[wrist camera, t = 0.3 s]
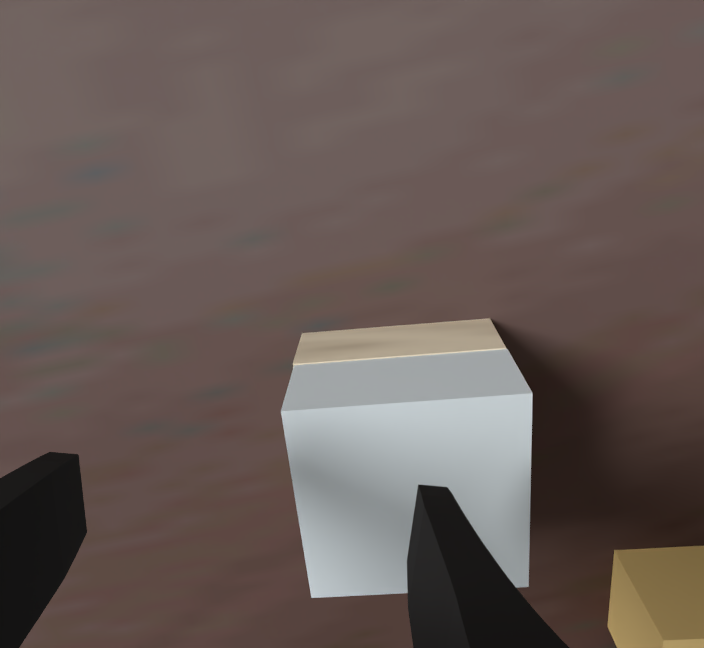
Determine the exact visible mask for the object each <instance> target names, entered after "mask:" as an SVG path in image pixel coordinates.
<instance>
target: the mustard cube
mask: <svg viewBox="0 0 704 648" xmlns="http://www.w3.org/2000/svg"><path fill="white" fill-rule="evenodd" d="M608 629H609V631H610V633H611V635H612V637H613V640H614V642H615V644H616V646H617V648H704V546H687V547H667V548H648V549H628V550H614V559H613V571H612V582H611V593H610V605H609V616H608Z"/></svg>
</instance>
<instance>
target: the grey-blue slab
mask: <svg viewBox="0 0 704 648" xmlns="http://www.w3.org/2000/svg"><path fill="white" fill-rule="evenodd" d="M532 399H533V393H532V391H531V389H530V388H529V386H528V384H527V382H526V381H525V379H524V377H523V375H522V374H521V372H520V370H519V368H518V367H517V365H516V363H515V361H514V359H513V358H512V356H511V354H510V352H509V351H508V349H500V350H487V351H474V352H461V353H448V354H435V355H422V356H409V357H396V358H383V359H370V360H357V361H344V362H330V363H317V364H304V365H294V368H293V371H292V374H291V378H290V381H289V385H288V388H287V392H286V395H285V399H284V402H283V406H282V409H281V415H282V421H283V427H284V433H285V439H286V445H287V452H288V458H289V464H290V470H291V476H292V482H293V488H294V494H295V500H296V506H297V513H298V519H299V525H300V531H301V537H302V543H303V549H304V555H305V561H306V567H307V573H308V580H309V586H310V592H311V598H319V597H339V596H358V595H378V594H398V593H408V587H407V556H408V549H409V543H410V536H411V529H412V523H413V516H414V509H415V503H416V496H417V489H418V484H419V485H430V486H442V487H448V489H449V490H450V491H451V492H452V494H453V496H454V498H455V499H456V501H457V503H458V504H459V506H460V508H461V509H462V511H463V513H464V514H465V516H466V517H467V519H468V521H469V522H470V524H471V525H472V527H473V528H474V530H475V532H476V533H477V535H478V536H479V538H480V539H481V541H482V542H483V544H484V545H485V546H486V548H487V549H488V551H489V552H490V553H491V555H492V556H493V558H494V559H495V560H496V562H497V563H498V565H499V566H500V567H501V569H502V570H503V571H504V573H505V574H506V575H507V577H508V578H509V579H510V581H511V582H512V583H513V585H514V586H515V587H529V543H530V495H531V447H532Z"/></svg>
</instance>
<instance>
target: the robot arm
mask: <svg viewBox="0 0 704 648" xmlns="http://www.w3.org/2000/svg"><path fill="white" fill-rule="evenodd" d="M86 533H87V528H86V519H85V510H84V501H83V492H82V483H81V474H80V465H79V456H78V454H67V453H56V452H49V453H47V454H45V455H43V456H40V457H38V458H37V459H35V460H33V461H31V462H29V463H27V464H25V465H23V466H22V467H20V468H18V469H16V470H14V471H13V472H11V473H9V474H7V475H5V476H4V477H2V478H0V648H19V647H20V645H21V644H22V642H23V641H24V639H25V638H26V636H27V635H28V633H29V632H30V630H31V629H32V627H33V626H34V624H35V623H36V621H37V620H38V618H39V617H40V615H41V614H42V612H43V611H44V609H45V608H46V606H47V604H48V603H49V601H50V600H51V598H52V597H53V595H54V594H55V592H56V591H57V589H58V587H59V586H60V584H61V583H62V581H63V580H64V578H65V576H66V574H67V572H68V570H69V568H70V566H71V564H72V562H73V560H74V558H75V556H76V554H77V552H78V550H79V548H80V546H81V544H82V542H83V539H84V537H85V535H86ZM407 587H408V610H409V618H410V625H411V632H412V640H413V647H414V648H569V647H568V646H567V645H566V644H565V643H564V642H563V641H562V640H561V639H560V638H559V637H558V636H557V635H556V633H555V632H554V631H553V630H552V629H551V628H550V627H549V626H548V625H547V624H546V623H545V622H544V621H543V619H542V618H541V617H540V616H539V615H538V614H537V613H536V611H535V610H534V609H533V608H532V607H531V606H530V604H529V603H528V602H527V601H526V600H525V598H524V597H523V596H522V595H521V593H520V592H519V591H518V590H517V588H516V587H515V586H514V585H513V583H512V582H511V581H510V579H509V578H508V577H507V575H506V574H505V573H504V571H503V570H502V569H501V567H500V566H499V565H498V563H497V562H496V560H495V559H494V558H493V556H492V555H491V553H490V552H489V551H488V549H487V548H486V546H485V545H484V544H483V542H482V541H481V539H480V538H479V536H478V535H477V533H476V532H475V530H474V528H473V527H472V525H471V524H470V522H469V521H468V519H467V517H466V516H465V514H464V513H463V511H462V509H461V508H460V506H459V504H458V503H457V501H456V499H455V498H454V496H453V494H452V492H451V491H450V490H449V489H448V487H442V486H430V485H419V484H418V489H417V496H416V503H415V509H414V516H413V523H412V529H411V536H410V543H409V549H408V556H407Z"/></svg>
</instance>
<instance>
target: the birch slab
mask: <svg viewBox="0 0 704 648" xmlns="http://www.w3.org/2000/svg"><path fill="white" fill-rule="evenodd" d="M500 349H506V347H505V345H504V343H503V341H502V339H501V338H500V336H499V334H498V332H497V330H496V329H495V327H494V325H493V323H492V321H491V320H490V318H489V319H476V320H464V321H451V322H438V323H426V324H413V325H400V326H388V327H375V328H362V329H350V330H337V331H325V332H312V333H302V335H301V339H300V342H299V345H298V348H297V352H296V355H295V358H294V362H293V368H294V365H304V364H317V363H330V362H344V361H357V360H370V359H383V358H396V357H409V356H422V355H435V354H448V353H461V352H474V351H487V350H500Z"/></svg>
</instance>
